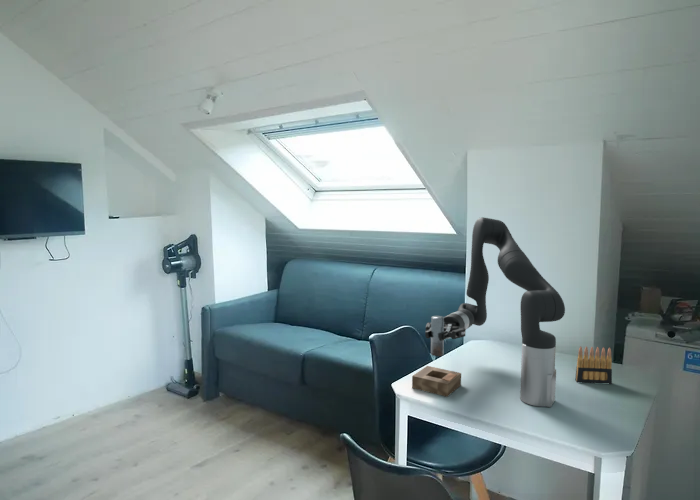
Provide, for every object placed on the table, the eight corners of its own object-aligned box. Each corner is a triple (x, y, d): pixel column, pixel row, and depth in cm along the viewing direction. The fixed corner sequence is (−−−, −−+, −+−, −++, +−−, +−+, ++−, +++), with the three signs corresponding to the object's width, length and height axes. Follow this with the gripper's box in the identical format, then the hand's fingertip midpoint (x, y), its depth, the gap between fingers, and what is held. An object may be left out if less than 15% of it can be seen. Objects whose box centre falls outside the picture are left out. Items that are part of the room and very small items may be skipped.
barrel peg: (445, 353, 149) (446, 316, 148) (440, 356, 146) (440, 319, 144) (434, 351, 151) (434, 315, 150) (428, 354, 148) (429, 317, 147)
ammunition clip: (576, 382, 152) (578, 347, 151) (575, 380, 154) (576, 345, 153) (611, 384, 151) (613, 348, 149) (609, 382, 152) (611, 346, 151)
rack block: (461, 385, 151) (461, 372, 150) (447, 396, 142) (447, 383, 141) (427, 377, 157) (427, 365, 157) (412, 387, 148) (412, 375, 148)
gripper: (435, 310, 163) (413, 321, 149) (475, 316, 155) (455, 328, 141) (435, 331, 164) (413, 344, 150) (474, 338, 156) (454, 352, 142)
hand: (433, 336), depth 145 cm, fingers closed on barrel peg, 4 cm apart
